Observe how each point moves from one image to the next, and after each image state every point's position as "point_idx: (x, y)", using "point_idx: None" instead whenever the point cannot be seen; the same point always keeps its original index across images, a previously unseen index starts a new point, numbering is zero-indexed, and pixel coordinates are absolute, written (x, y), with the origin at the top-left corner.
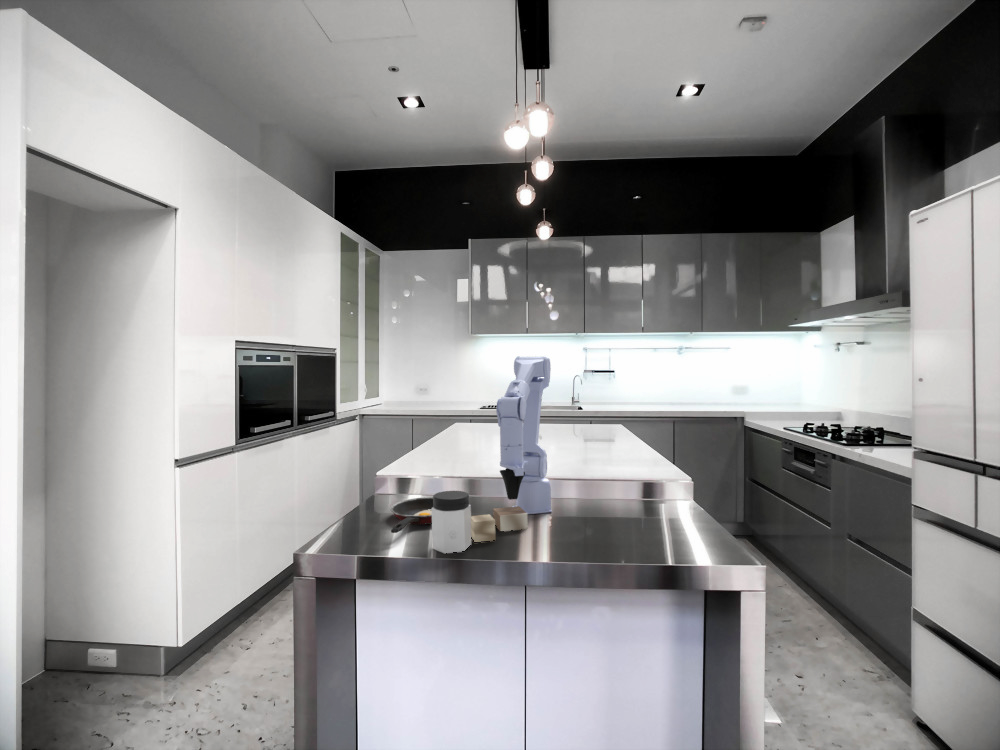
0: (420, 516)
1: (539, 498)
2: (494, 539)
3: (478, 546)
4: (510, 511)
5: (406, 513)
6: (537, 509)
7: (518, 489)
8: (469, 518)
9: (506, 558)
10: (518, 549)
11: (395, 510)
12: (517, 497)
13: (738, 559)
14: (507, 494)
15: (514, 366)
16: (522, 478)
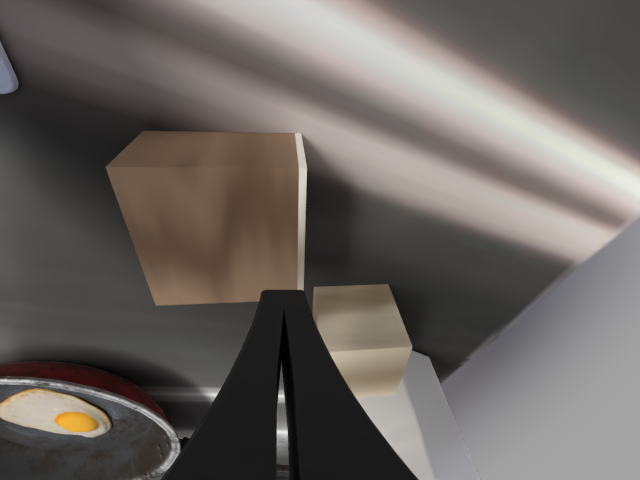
0: (179, 450)
1: None
2: (389, 290)
3: (408, 327)
4: (233, 244)
5: (45, 443)
6: None
7: (327, 351)
8: (431, 430)
9: (540, 285)
10: (507, 241)
11: (67, 474)
12: (303, 296)
13: None
14: (282, 364)
15: None
16: (404, 464)
